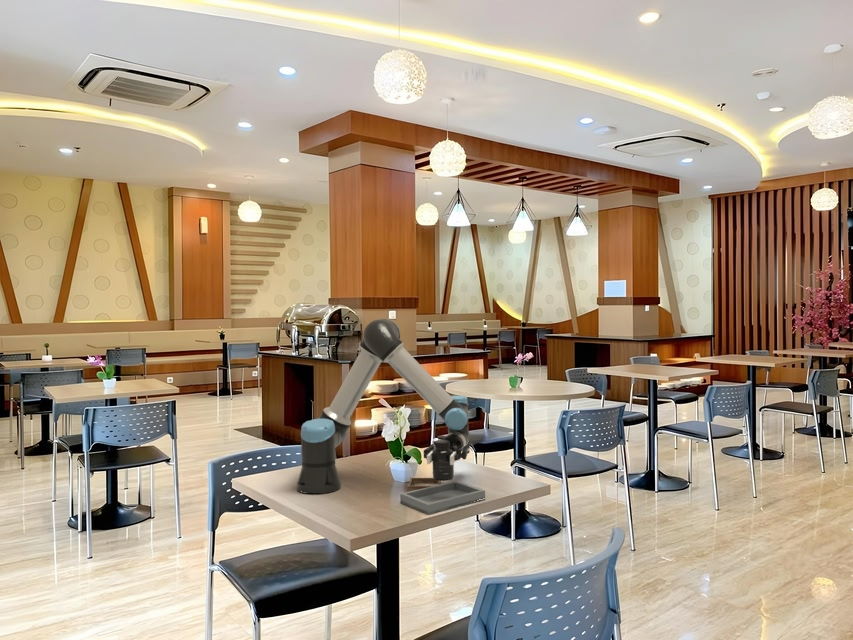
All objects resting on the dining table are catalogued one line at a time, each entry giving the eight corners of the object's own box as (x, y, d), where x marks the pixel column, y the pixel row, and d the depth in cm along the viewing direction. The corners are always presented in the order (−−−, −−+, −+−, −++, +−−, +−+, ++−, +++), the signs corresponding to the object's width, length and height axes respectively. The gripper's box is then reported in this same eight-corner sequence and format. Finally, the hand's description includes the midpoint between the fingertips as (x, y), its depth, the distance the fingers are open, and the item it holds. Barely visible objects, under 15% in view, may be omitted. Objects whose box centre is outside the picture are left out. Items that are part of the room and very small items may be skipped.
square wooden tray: (410, 482, 222) (410, 477, 222) (440, 482, 221) (440, 477, 221) (407, 491, 211) (407, 486, 211) (439, 491, 210) (439, 486, 210)
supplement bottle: (430, 476, 202) (429, 439, 202) (451, 474, 204) (450, 438, 204) (435, 481, 196) (434, 444, 195) (456, 480, 197) (455, 442, 197)
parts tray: (400, 502, 199) (400, 493, 199) (455, 489, 213) (455, 480, 213) (428, 514, 187) (428, 504, 187) (485, 499, 201) (485, 490, 201)
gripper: (481, 456, 215) (470, 473, 192) (426, 454, 219) (409, 471, 197) (481, 434, 215) (470, 449, 192) (425, 433, 219) (409, 447, 197)
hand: (439, 460), depth 195 cm, fingers closed on supplement bottle, 7 cm apart
